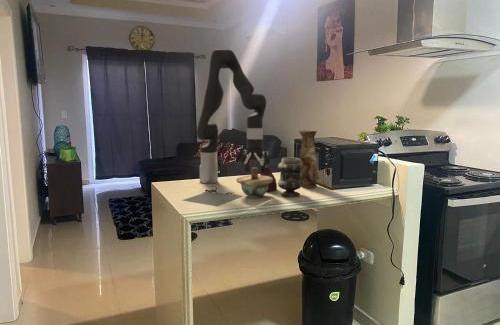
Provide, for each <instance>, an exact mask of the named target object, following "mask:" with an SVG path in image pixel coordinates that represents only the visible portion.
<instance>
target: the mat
mask: <svg viewBox="0 0 500 325" xmlns="http://www.w3.org/2000/svg"><path fill="white" fill-rule="evenodd" d="M215 192H216V191H215ZM243 197H244V196H243V195H236V194H230V193H224V192H223V193H221V192H216V193H209V192H208V191H206V192H203V193H201V194H200V193H199V194H197V195H194V196H191V197H188V198H185V199H182V201H183V202H189V203H194V204H195V203H196V204H201V205H207V206H208V205H209V206H214V207H219V206H222V205H225V204H227V203H229V202H232V201H235V200H238V199H240V198H243Z"/></svg>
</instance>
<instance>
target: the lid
mask: <svg viewBox="0 0 500 325" xmlns="http://www.w3.org/2000/svg"><path fill="white" fill-rule="evenodd" d="M250 171H251V172H250V174H251V175H250V174H249V175H241V176H239V177H236V183H237V184H240V185H241V184H245V185H264V184H269V183H272V182H273V178H272V177H269V176H263V175H260V174H259V167H251V169H250Z"/></svg>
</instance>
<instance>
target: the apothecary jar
mask: <svg viewBox="0 0 500 325" xmlns="http://www.w3.org/2000/svg"><path fill="white" fill-rule="evenodd" d="M277 168H278V169H279V172H280V176H279V177H280V178H279V179H278V181H277V187H278V188H280V189H282V190H284V191H282V192H280V194H279V196H280V195H281V197H283V198H298V197H300V196H301V194H300V192H297V191H296V190H299V189H301V188H303V187H302V185H303V182H302V181H301V180H300V170H301V169H302V168H303V165H302V164H301V163H300V158H299V157H282V158H281V162H279V163H278V166H277Z"/></svg>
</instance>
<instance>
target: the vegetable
mask: <svg viewBox="0 0 500 325" xmlns="http://www.w3.org/2000/svg"><path fill="white" fill-rule="evenodd" d="M259 175H263V176H269V177H272V178H273V182H272V183H269V186H268V190H267V192H266V193H272V192H275V191H277V190H278V182H277V179H276V178H275V175H274V174H273V173H272V169H270V166H269V164H267V165H265V172H264V173H263V174H261V172H260V173H259Z"/></svg>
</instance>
